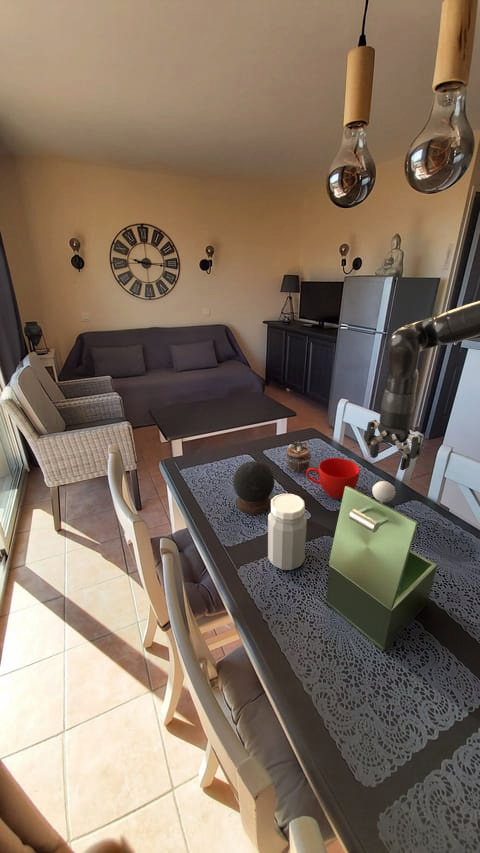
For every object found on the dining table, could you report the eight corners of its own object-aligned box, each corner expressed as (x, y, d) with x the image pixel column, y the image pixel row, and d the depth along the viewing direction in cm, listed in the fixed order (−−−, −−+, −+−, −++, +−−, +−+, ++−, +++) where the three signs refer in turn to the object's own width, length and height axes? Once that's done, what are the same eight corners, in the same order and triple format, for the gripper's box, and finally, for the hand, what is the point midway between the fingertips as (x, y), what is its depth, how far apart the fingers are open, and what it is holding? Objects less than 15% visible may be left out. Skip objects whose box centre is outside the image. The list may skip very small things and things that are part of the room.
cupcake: (280, 469, 137) (281, 445, 133) (292, 458, 145) (293, 436, 141) (303, 476, 132) (305, 452, 128) (314, 464, 140) (316, 441, 135)
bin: (370, 566, 92) (376, 529, 87) (427, 604, 82) (437, 564, 77) (325, 603, 83) (329, 564, 78) (383, 652, 72) (391, 610, 67)
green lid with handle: (347, 485, 72) (330, 491, 69) (418, 522, 61) (402, 531, 58) (330, 562, 78) (314, 571, 75) (393, 608, 67) (377, 620, 64)
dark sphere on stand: (244, 521, 110) (242, 479, 104) (227, 498, 121) (225, 459, 115) (281, 509, 115) (282, 468, 109) (262, 488, 126) (262, 450, 120)
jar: (300, 577, 90) (303, 518, 82) (262, 567, 93) (262, 510, 86) (307, 550, 98) (311, 495, 91) (273, 542, 101) (273, 488, 94)
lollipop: (393, 527, 105) (401, 484, 99) (380, 535, 102) (388, 491, 96) (375, 516, 110) (382, 474, 104) (363, 524, 107) (368, 481, 101)
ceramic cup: (306, 480, 130) (307, 455, 126) (355, 484, 127) (358, 459, 122) (304, 501, 118) (305, 475, 114) (358, 506, 115) (361, 479, 111)
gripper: (433, 411, 88) (421, 468, 94) (380, 396, 98) (373, 449, 105) (417, 419, 84) (405, 478, 90) (364, 403, 94) (357, 457, 101)
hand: (388, 462), depth 97 cm, fingers open, 8 cm apart
